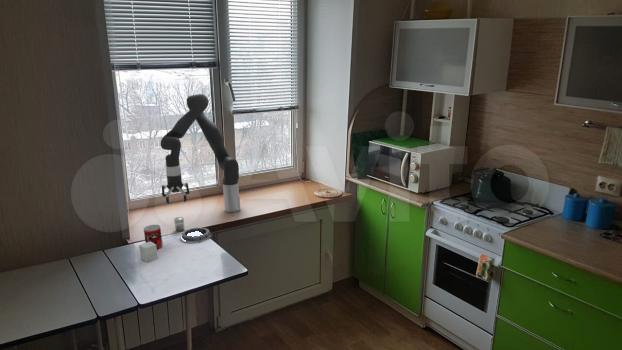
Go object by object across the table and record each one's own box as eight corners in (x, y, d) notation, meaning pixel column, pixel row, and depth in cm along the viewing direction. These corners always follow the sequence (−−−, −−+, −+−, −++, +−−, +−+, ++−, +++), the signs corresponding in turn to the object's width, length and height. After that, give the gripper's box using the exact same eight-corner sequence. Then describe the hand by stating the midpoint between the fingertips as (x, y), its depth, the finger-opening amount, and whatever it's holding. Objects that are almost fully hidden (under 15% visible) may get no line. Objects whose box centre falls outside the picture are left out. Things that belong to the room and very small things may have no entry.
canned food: (143, 249, 233) (140, 229, 231) (153, 243, 241) (150, 223, 238) (155, 251, 231) (153, 231, 228) (165, 245, 238) (163, 225, 235)
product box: (158, 258, 223) (156, 244, 221) (146, 262, 219) (144, 248, 217) (152, 255, 227) (150, 241, 225) (140, 259, 223) (138, 244, 221)
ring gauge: (210, 229, 257) (209, 225, 257) (212, 240, 243) (212, 235, 242) (180, 233, 253) (179, 229, 252) (180, 244, 238) (180, 240, 238)
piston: (184, 228, 261) (183, 216, 259) (184, 231, 256) (183, 219, 254) (175, 229, 259) (174, 217, 258) (175, 232, 255) (174, 220, 253)
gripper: (187, 170, 255) (189, 199, 259) (160, 173, 251) (163, 201, 255) (187, 174, 248) (190, 203, 252) (159, 176, 244) (163, 206, 248)
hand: (176, 202), depth 254 cm, fingers open, 8 cm apart
